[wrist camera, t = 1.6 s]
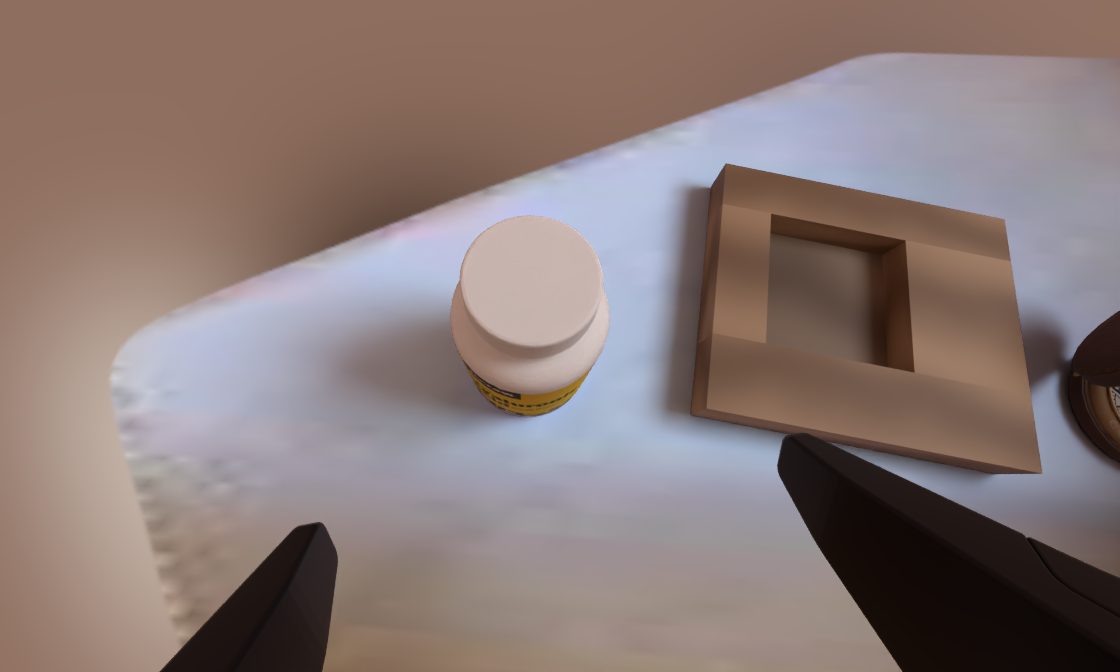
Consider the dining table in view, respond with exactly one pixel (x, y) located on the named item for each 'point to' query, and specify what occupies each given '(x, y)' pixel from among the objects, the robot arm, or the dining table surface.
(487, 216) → the dining table surface
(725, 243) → the socket board
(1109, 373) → the compass
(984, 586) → the robot arm
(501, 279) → the supplement bottle
